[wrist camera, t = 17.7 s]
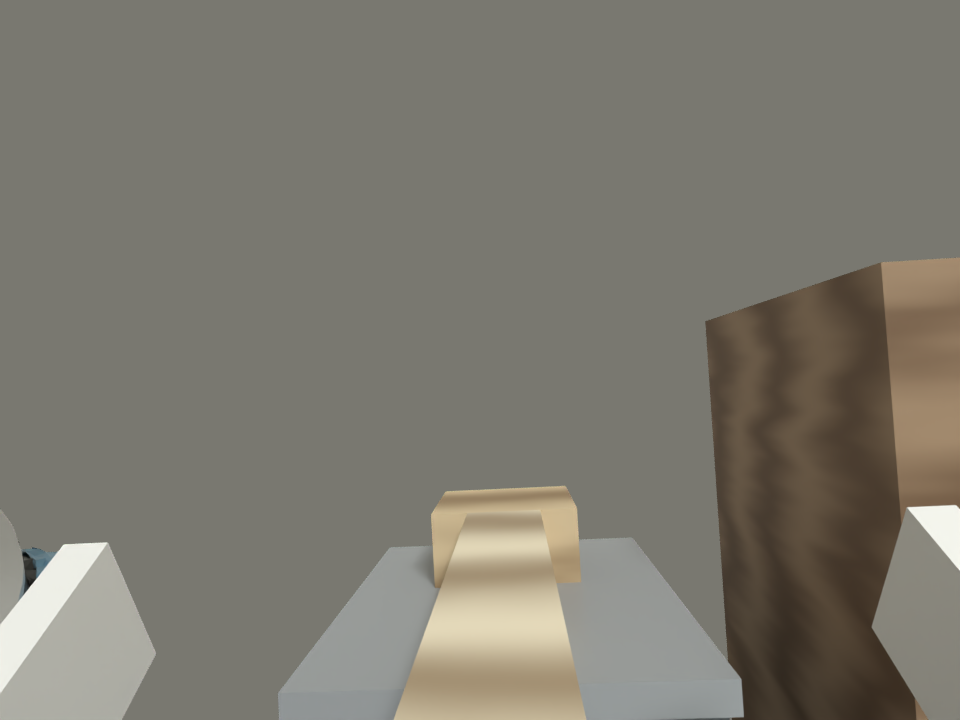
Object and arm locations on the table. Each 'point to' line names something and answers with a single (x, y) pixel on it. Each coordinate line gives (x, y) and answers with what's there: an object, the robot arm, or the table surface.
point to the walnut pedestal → (829, 477)
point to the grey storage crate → (590, 627)
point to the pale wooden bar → (498, 610)
